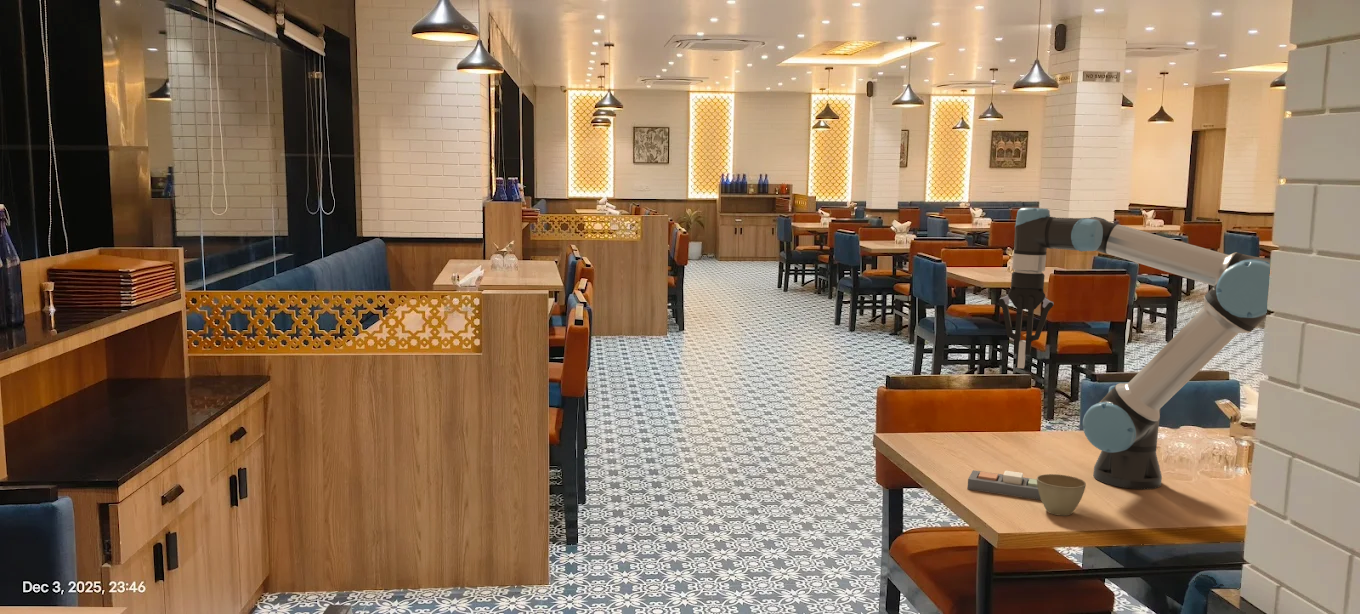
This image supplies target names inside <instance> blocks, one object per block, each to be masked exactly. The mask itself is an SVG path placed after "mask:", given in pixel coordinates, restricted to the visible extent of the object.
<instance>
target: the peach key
mask: <svg viewBox="0 0 1360 614" xmlns="http://www.w3.org/2000/svg"><path fill="white" fill-rule="evenodd" d="M987 472H988V471H982V472H980V474H979V476H978V479H985V480H992V481H998V474H999V473H996V474H994V472H989V473H987Z"/></svg>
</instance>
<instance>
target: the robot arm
mask: <svg viewBox="0 0 1360 614" xmlns="http://www.w3.org/2000/svg"><path fill="white" fill-rule="evenodd" d="M1047 249H1054V250H1055V249H1056V250H1066V251H1067V250H1068V251H1077V252H1094V251H1096V252H1099V253H1101V254H1106V255H1110V256H1114V257H1116V258H1121V259H1124V260H1127V261H1131V262H1134V263H1137V264H1140V265H1144V266H1147V267H1149V268H1150V267H1151V268H1154V269H1157V270H1159V271H1163V272H1167V273H1169V274H1173V275H1176V276H1179V277H1183V278H1186V279H1190V280H1193V281H1196V282H1199V283H1203V284H1207V285H1209V286H1213V287H1211V289H1209V290H1208V291H1207V293H1206V294H1204V296H1203V304H1204V305H1203V308H1202V309H1200V310H1199V311H1198V313H1196V314H1195V315H1194V316H1193V317H1192V319H1190V320H1189V322H1187V324H1186V325H1184V327H1182V329H1180V330H1179V331H1178V332H1177V334H1175V336H1173V337H1172V338H1171V340H1169V341H1168V343H1167V344H1166V345H1164V346H1163V348H1161V349H1160V350H1159V351H1158V352H1157V353H1156V354H1155V356H1153V358H1151V359H1150V361H1148V362H1147V364H1146V365H1145V366H1143V367H1142V369H1140V371H1138V373H1137V374H1135V376H1134V377H1133V378H1131V380H1130V381H1128V382H1124V383H1123V382H1122V383H1117V384H1116V385H1111V386H1109V388H1108V392H1107V393H1106V395H1105V396H1104V397H1103V398H1102V399H1101V400H1100V401H1099V402H1098V403H1095V404H1092V405H1091V406H1090V407H1089V408H1088V409H1087V410H1086V412H1085V413H1084V416H1083V419H1082V429H1083V433H1084V436H1085V437H1086V439H1087V441H1088V442H1089V443H1090V444H1091V445H1092V446H1093V447H1095V448H1096V449H1098V450H1100V454H1099V456H1098V457H1097V460H1096V462H1095V464H1094V466H1093V478H1095V479H1096V480H1098V481H1099V482H1101V483H1104V484H1106V485H1110V486H1114V487H1118V488H1125V489H1131V490H1132V489H1133V490H1154V489H1159V488H1160V487H1161V486H1162V478H1163V475H1162V471H1161V467H1160V464H1159V460H1158V456H1157V448H1158V447H1157V446H1158V437H1159V427H1160V419H1161V418H1160V417H1161V415H1160V414H1161V408H1163V406H1164V405H1165V404H1167V403H1168V402H1169V401H1170V400H1171V398H1173V397H1174V396H1175V395H1176V394H1177V393H1178V392H1179V391H1180V390H1181V389H1182V388H1183V387H1184V386H1185V385H1186V384H1187V383H1188V382H1190V380H1192V379H1193V377H1195V376H1196V375H1197V374H1198V373H1199V372H1200V371H1201V370H1202V369H1203V368H1204V367H1205V366H1206V365H1207V364H1208V363H1209V362H1211V360H1212V359H1214V358H1215V356H1216V355H1217V354H1218V353H1219V352H1221V350H1223V349H1224V348H1225V346H1227V345H1228V344H1229V343H1230V342H1231V341H1232V340H1233V339H1235V337H1236V336H1237V335H1238V334H1249V333H1251V332H1253V331H1254V330H1255V329H1256V327H1257V326H1259V325H1260V324H1261V323H1262V322H1263V321H1264V320H1265V319H1266V318H1267V317H1266V313H1267V295H1268V284H1269V274H1270V259H1271V258H1267V257H1259V256H1253V255H1249V254H1248V255H1247V254H1245V253H1244V254H1243V253H1239V252H1237V251H1236V252H1233V253H1231V254H1227V253H1223V252H1220V251H1215V250H1212V249H1209V248H1205V247H1201V246H1198V245H1194V244H1190V243H1188V242H1184V241H1180V240H1175V239H1173V238H1168V237H1165V236H1161V235H1159V234H1154V233H1151V232H1147V231H1144V230H1140V229H1136V228H1133V227H1129V226H1126V225H1121V224H1119V223H1118V224H1117V223H1116V222H1111V221H1108V220H1106V218H1102V217H1097V216H1093V217H1055V216H1051V214H1050V209H1049V208H1040V207H1039V208H1038V207H1021V208H1019V209H1018V210H1017V213H1016V219H1015V225H1014V242H1013V253H1012V270H1013V272H1012V273H1011V280H1010V281H1011V282H1010V290H1009V291H1008V293H1007V295H1005V296H1003V297H1000V298H999V299H998V304H999V305H1000V307H1001V308H1002V309H1001V310H1002V314H1003V318H1004V319H1003V320H1004V325H1005V333H1006V336H1007V338H1009V339H1011V340H1013V341H1014V344H1013V354H1015V355H1017V365H1016V366H1017V367H1016V368H1017V369H1023V370H1024V369H1025V365H1026V355H1027V356H1029V355H1030V354H1031V353H1032V352H1031V351H1032V350H1031V349H1032V342H1033V341H1038V340H1039V339H1040V337H1041V334H1042V331H1043V328H1044V326H1045V322H1046V321H1047V316H1048V314H1049V311H1050V310H1052V308H1053V307H1054V306H1055V305H1054V301H1052V300H1049V299H1048V298H1046V294H1045V292H1044V287H1045V277H1046V276H1045V274H1044V273H1043V272H1045V271H1046V263H1047ZM1010 301H1011V303H1012V304H1013V306H1014V307H1015V308H1016V316H1015V330H1014V331H1013V325H1012V319H1011V314H1010V307H1009V304H1010ZM1042 302H1043V304H1042V308H1044V309H1043V310H1042V313H1041V316H1040V319H1039V321H1038V324H1037V327H1036V330H1035V333H1034V334H1033V327H1034V326H1033V325H1034V312H1035V310H1036V308H1038V307H1039V306H1040V305H1041V303H1042ZM1024 310H1026V311H1027V319H1026V329H1025V330H1026V332H1025V340H1021V338H1022V326H1023V312H1024Z"/></svg>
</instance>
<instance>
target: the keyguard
mask: <svg viewBox="0 0 1360 614" xmlns="http://www.w3.org/2000/svg"><path fill="white" fill-rule="evenodd" d="M980 472H983V471H982V470H974V469H973V470H972V471H971V473H970V475H969V477H968V478H967V490H971V491H978V492H986V493H991V494H992V493H993V494H1000V495H1007V496H1011V497H1019V498H1025V499H1033V500H1038V501H1042V500H1041V498H1040V495H1039V491H1038V487H1033V486H1028V481H1029V479H1032V478H1029V477H1024V476H1023V480H1022V485H1019V484H1012V483H1005V482H1003V474H1004V473H1003V474H1001V473H996V472H995V473H994V472H993V473H994V474H998V481H992V480H985V479H978V476H979V474H980ZM986 472H987V473H990V472H988V471H986ZM1035 479H1036V480H1037V478H1035Z"/></svg>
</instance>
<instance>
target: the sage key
mask: <svg viewBox="0 0 1360 614" xmlns="http://www.w3.org/2000/svg"><path fill="white" fill-rule="evenodd" d="M1036 479H1037V478H1031V479H1029V481H1028V486H1033V487H1038V486H1037V480H1036Z"/></svg>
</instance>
